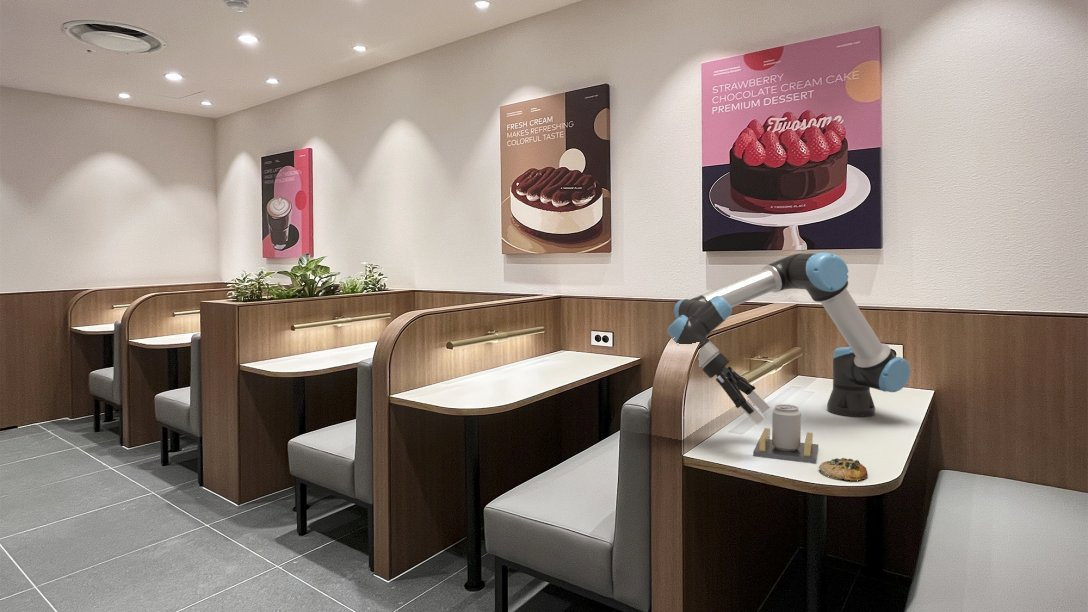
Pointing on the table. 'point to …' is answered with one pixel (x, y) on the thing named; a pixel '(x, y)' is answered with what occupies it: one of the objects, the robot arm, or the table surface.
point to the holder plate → (803, 453)
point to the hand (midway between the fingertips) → (764, 415)
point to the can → (786, 427)
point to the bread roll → (844, 469)
